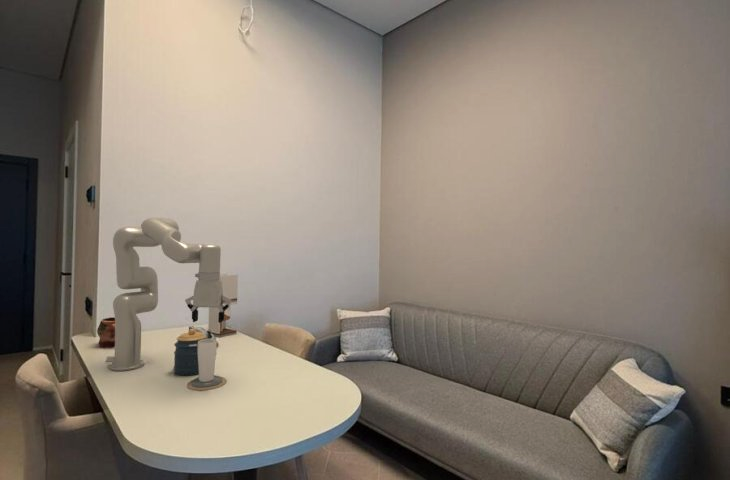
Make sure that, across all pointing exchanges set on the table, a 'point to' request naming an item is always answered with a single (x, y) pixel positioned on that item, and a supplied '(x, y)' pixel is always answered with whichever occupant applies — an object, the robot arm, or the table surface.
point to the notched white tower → (230, 292)
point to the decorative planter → (107, 332)
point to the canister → (187, 353)
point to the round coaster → (206, 383)
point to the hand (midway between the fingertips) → (208, 321)
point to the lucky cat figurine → (204, 332)
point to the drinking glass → (206, 359)
